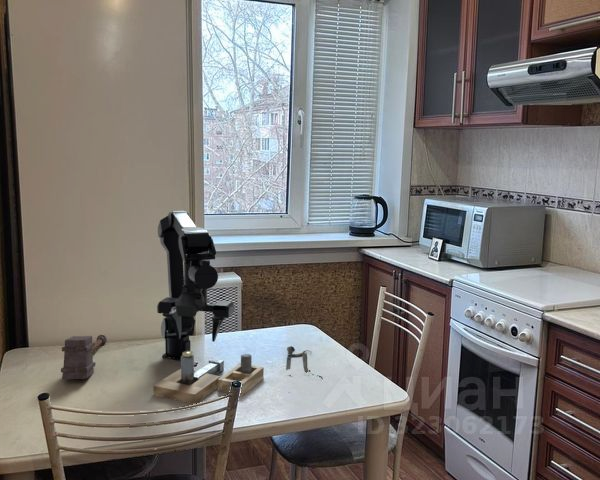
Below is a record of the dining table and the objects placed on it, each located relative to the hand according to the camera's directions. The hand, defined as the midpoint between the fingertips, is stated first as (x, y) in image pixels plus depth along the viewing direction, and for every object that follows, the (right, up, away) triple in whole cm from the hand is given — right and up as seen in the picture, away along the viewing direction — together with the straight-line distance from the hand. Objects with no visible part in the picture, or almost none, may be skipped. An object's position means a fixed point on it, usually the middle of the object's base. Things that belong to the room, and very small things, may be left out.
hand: (196, 339), depth 148 cm
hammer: (-33, -9, +17) cm, 39 cm away
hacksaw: (+28, -11, +18) cm, 35 cm away
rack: (+11, -12, +3) cm, 17 cm away
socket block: (-2, -13, -1) cm, 13 cm away
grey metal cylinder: (-2, -13, -1) cm, 13 cm away
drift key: (+1, -11, +7) cm, 13 cm away
